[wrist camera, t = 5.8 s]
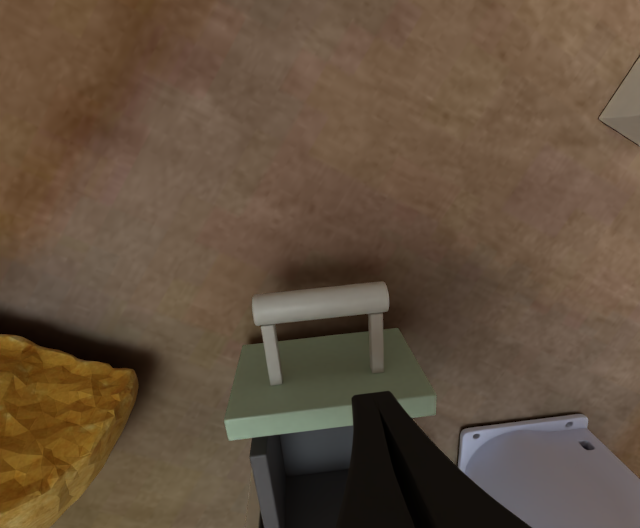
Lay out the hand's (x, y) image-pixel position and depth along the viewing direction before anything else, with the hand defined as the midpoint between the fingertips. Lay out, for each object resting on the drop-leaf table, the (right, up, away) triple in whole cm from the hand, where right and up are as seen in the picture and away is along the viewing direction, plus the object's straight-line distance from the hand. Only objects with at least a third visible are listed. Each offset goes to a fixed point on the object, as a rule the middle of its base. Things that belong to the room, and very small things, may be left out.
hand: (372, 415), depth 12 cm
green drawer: (-2, -2, +9) cm, 10 cm away
